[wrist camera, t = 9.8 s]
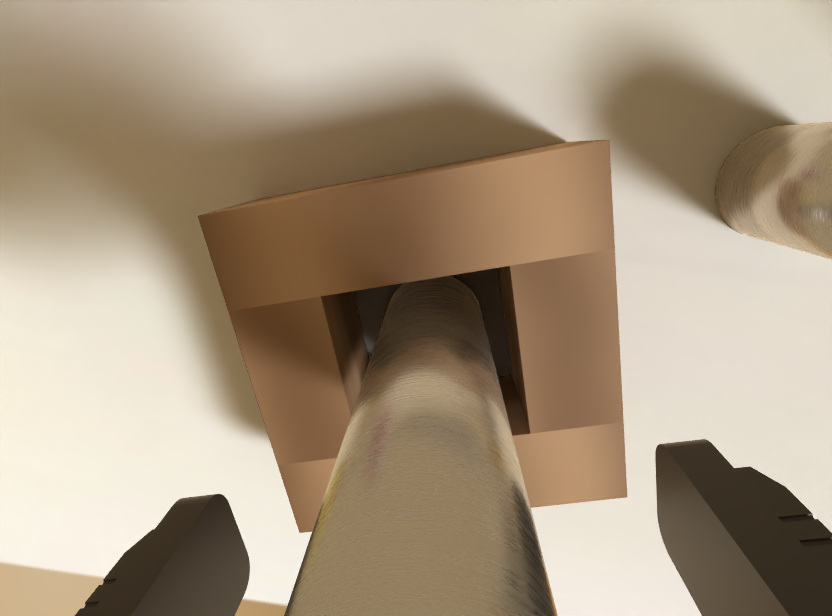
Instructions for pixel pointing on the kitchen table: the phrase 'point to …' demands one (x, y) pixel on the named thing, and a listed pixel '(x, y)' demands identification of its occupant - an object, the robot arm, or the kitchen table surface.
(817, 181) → the short pin
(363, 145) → the kitchen table surface
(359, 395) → the long pin
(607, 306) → the hole block
